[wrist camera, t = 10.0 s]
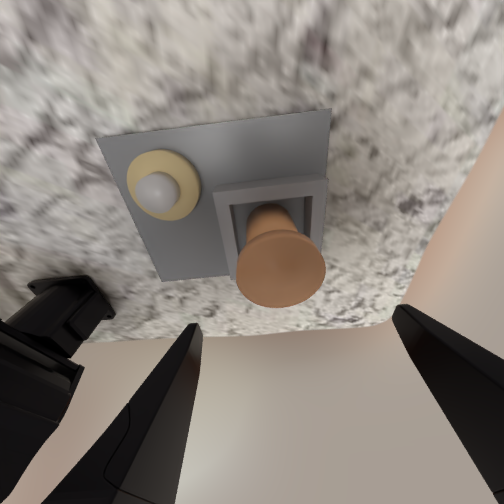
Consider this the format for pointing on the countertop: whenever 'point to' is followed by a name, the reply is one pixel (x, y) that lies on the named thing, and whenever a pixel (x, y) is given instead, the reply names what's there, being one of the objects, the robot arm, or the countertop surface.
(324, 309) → the countertop surface
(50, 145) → the countertop surface
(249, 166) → the housing
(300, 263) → the tan flared peg
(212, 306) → the countertop surface
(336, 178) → the countertop surface
